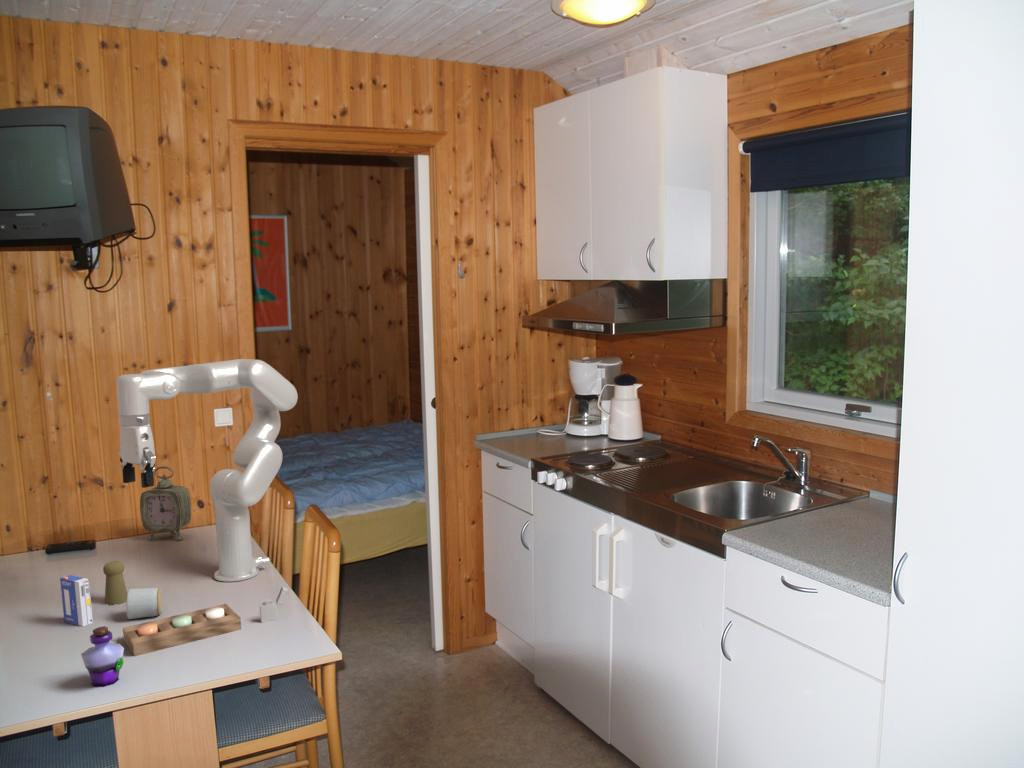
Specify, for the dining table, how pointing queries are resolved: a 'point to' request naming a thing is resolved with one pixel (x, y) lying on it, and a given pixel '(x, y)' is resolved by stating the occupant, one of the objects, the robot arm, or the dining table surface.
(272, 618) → the lighter
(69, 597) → the walkman
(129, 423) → the robot arm
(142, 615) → the ceramic mug
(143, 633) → the terracotta button
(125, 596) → the cork
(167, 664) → the dining table surface
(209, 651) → the dining table surface
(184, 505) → the tabletop clock
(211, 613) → the cream button
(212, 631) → the button deck
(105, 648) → the potion bottle
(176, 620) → the sage button
